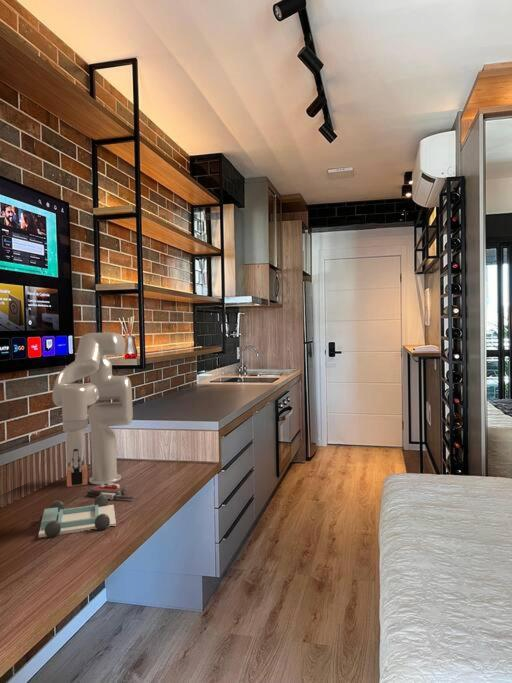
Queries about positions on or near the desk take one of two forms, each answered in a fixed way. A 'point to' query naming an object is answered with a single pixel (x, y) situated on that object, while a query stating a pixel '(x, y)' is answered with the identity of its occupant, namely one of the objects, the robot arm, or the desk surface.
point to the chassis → (77, 518)
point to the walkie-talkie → (109, 491)
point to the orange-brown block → (84, 475)
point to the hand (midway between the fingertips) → (77, 481)
